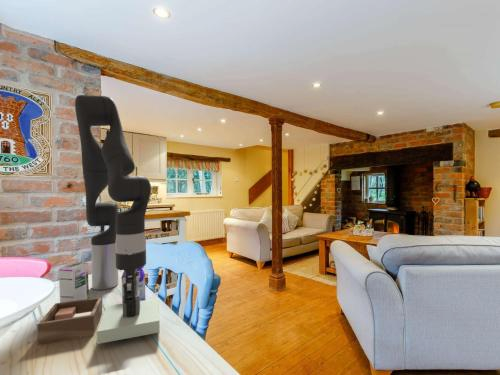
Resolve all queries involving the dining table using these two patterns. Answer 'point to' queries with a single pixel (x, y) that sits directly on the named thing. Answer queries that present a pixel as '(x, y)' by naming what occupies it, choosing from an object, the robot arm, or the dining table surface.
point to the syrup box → (74, 282)
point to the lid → (129, 321)
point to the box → (70, 321)
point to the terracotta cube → (65, 313)
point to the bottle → (141, 284)
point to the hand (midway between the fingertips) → (132, 311)
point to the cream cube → (82, 314)
